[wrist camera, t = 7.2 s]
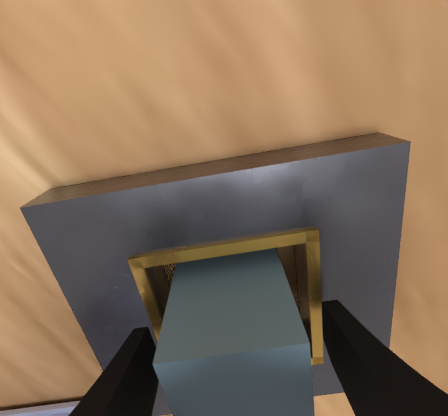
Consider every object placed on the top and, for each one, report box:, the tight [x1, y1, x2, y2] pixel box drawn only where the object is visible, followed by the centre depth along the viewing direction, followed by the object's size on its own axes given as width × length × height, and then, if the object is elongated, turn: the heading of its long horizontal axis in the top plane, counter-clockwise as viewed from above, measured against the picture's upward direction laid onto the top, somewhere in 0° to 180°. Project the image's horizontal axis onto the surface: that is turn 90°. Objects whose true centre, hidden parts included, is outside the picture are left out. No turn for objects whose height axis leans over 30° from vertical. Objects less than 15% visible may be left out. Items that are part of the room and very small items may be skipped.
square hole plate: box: [20, 133, 410, 416], centre depth 13 cm, size 14×13×2 cm
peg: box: [153, 248, 314, 416], centre depth 11 cm, size 4×4×6 cm
